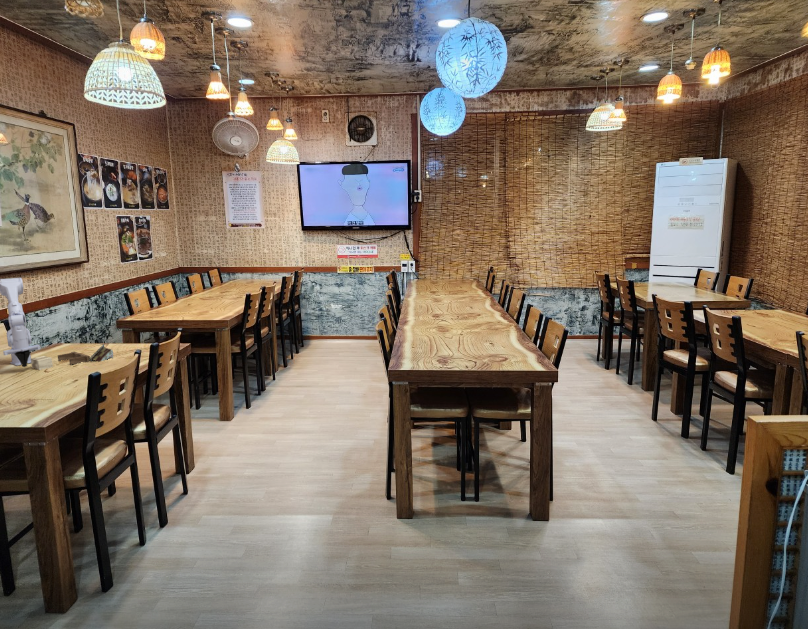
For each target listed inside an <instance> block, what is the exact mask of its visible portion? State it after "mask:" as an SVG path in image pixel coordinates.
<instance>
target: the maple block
mask: <svg viewBox="0 0 808 629" xmlns="http://www.w3.org/2000/svg"><path fill="white" fill-rule="evenodd" d="M30 365H31V368H32V369H34V368H35V369H34V370H37V369H38V371H42V369H43V370H47V369H51V367H52V368H54V364H53V358H52V357H50V356H46V355H42V356H37V357H31V363H30ZM46 368H47V369H46Z"/></svg>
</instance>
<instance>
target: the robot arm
mask: <svg viewBox="0 0 808 629" xmlns="http://www.w3.org/2000/svg"><path fill="white" fill-rule="evenodd" d="M22 294H24V282H23V278H22V277H14V278H13V277H11V278H0V295H1V296H4V297H6V299H7V303H8V304H7V306H6V307H7V312H8V323H9V327H10V329H9V330H7V332H6V339H7V340H6V341H7V345H8V347H9V348H10V349H6V350H3V351H2V353H3V356H8V355H10V357H11V361H9V362H10V363H9V364H11V365H13V366H21V367H23V368H26V367H28V364H31V359H32V357H31V351H35V350H41V346H40V344H35V345H31V344H32V343H33V342H32V336H31V332H30V330H29V328H27V320H26V314H25V312H24V310H23V304H22V303H21V302H19V297H20V296H21V295H22ZM27 363H28V364H27Z"/></svg>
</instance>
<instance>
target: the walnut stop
mask: <svg viewBox="0 0 808 629" xmlns="http://www.w3.org/2000/svg"><path fill="white" fill-rule="evenodd" d="M90 357H91V355H88V354H85V353H80V352H77V351H71V352H68V353H63V354H58V355H57V360H58V361H59V362H62V361H61V360H64V361H67V360H66V359H68V361H69V362H68V363H69V365H70V366H73V365H72V364H74V365H78V364H82V363H81V362H83V363H90V362H89V359H90ZM77 363H78V364H77Z"/></svg>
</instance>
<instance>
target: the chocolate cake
mask: <svg viewBox="0 0 808 629" xmlns="http://www.w3.org/2000/svg"><path fill="white" fill-rule="evenodd" d="M113 358H114V351H113V349H111V348H108V347H105V343H104V344H102V345H101V346H100V347H98V349H97V350H96V351H95V352H93V354H92V355H90V359H89V361H91V362H102V361H107V360H108V359H113ZM93 360H95V361H93Z"/></svg>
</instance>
